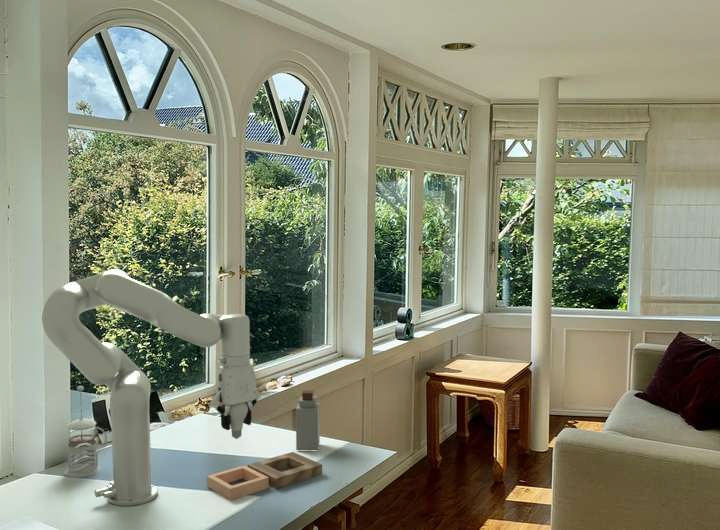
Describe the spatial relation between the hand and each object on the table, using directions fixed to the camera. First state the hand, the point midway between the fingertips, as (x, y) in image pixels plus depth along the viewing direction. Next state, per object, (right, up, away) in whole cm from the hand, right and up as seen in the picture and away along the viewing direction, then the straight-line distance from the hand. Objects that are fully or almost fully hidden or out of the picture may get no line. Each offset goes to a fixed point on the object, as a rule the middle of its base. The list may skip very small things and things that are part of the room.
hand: (236, 425), depth 195 cm
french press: (-46, -16, +14) cm, 51 cm away
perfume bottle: (+17, -15, +34) cm, 40 cm away
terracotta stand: (0, -17, +1) cm, 17 cm away
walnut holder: (+12, -16, +11) cm, 23 cm away
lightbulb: (0, -4, 0) cm, 4 cm away
